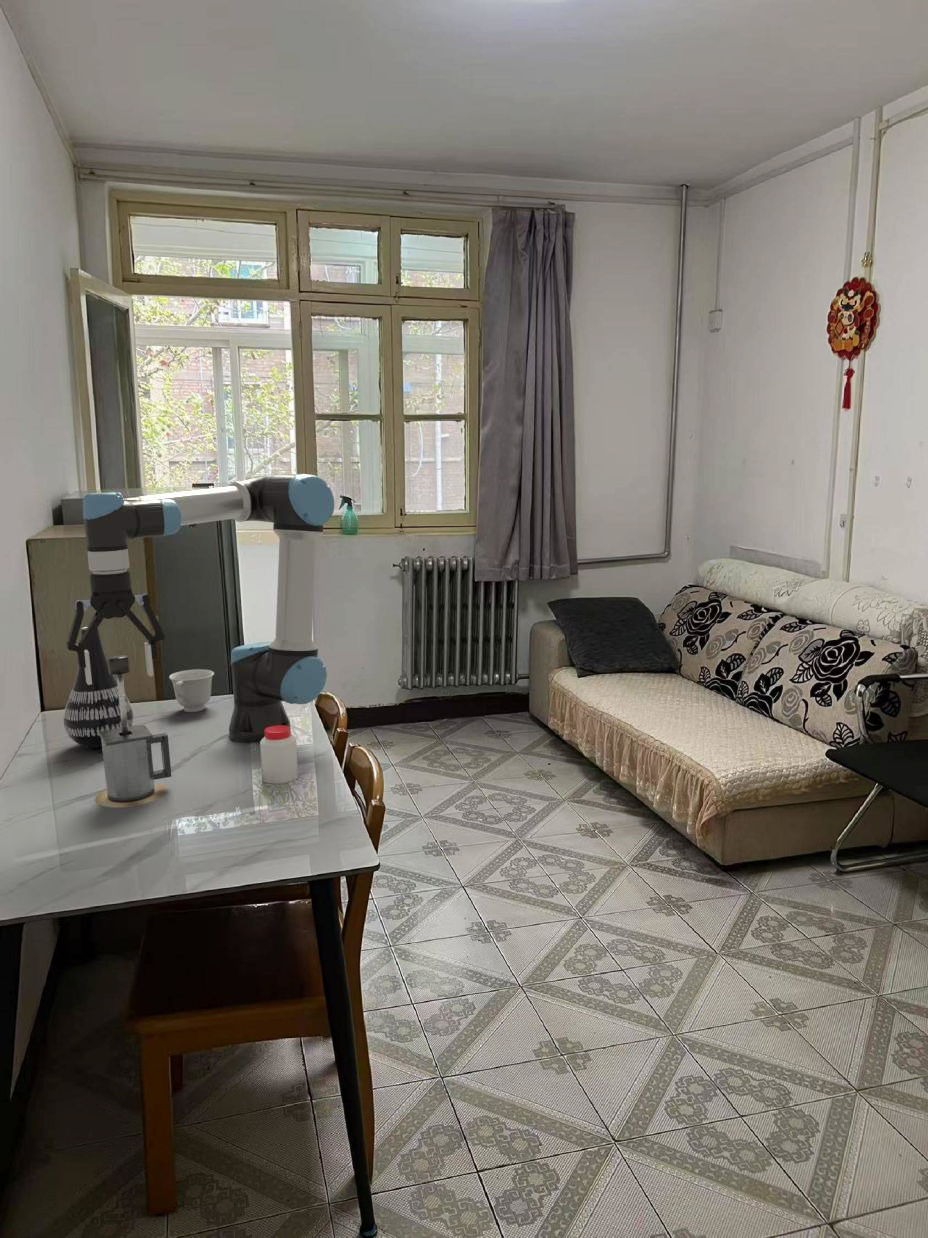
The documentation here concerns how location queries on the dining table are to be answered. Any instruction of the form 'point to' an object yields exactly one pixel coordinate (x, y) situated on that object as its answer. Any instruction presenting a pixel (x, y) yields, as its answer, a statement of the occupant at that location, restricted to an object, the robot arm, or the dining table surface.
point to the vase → (94, 700)
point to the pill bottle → (279, 755)
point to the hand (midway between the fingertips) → (120, 679)
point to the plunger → (120, 684)
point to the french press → (132, 763)
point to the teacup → (192, 688)
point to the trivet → (104, 801)
